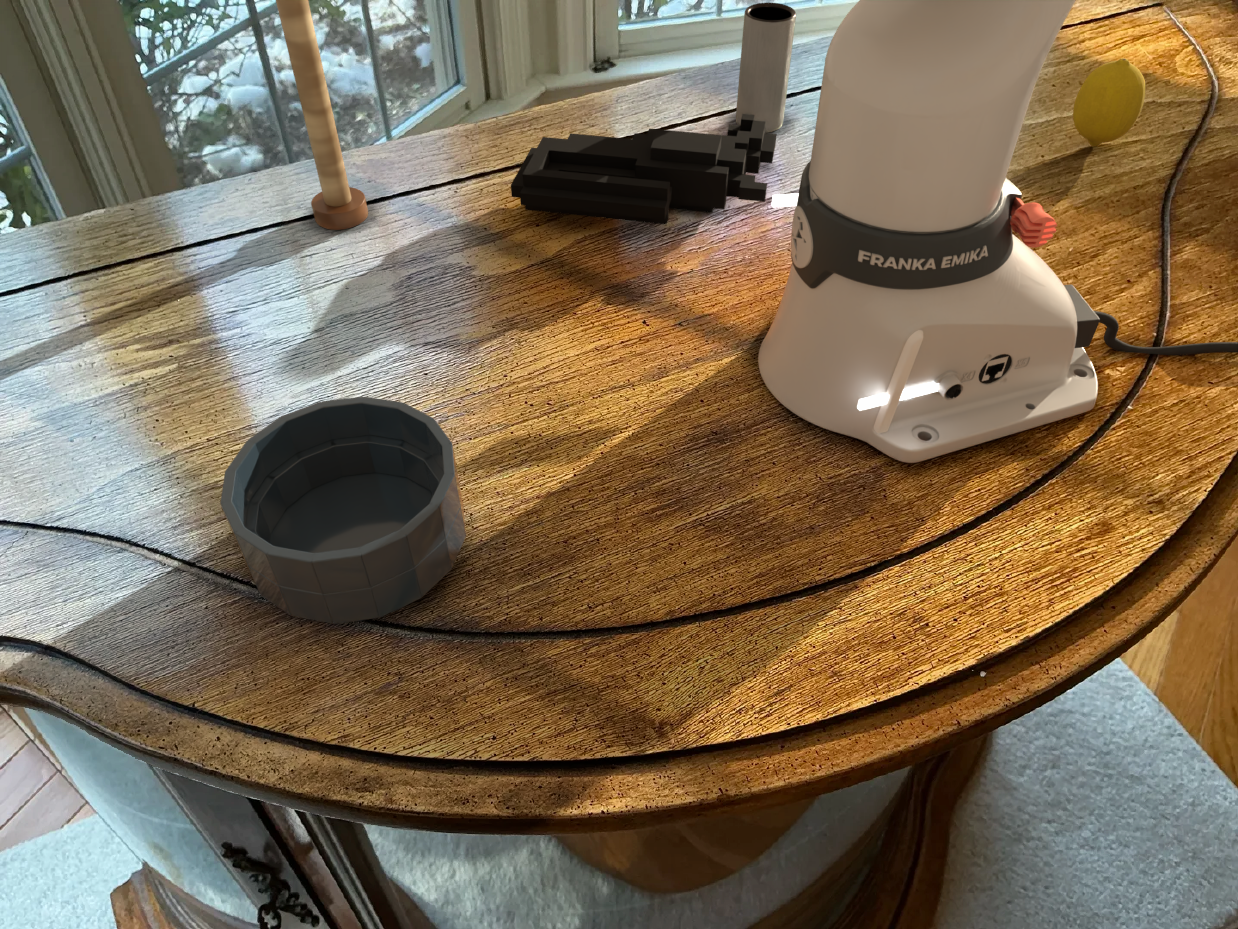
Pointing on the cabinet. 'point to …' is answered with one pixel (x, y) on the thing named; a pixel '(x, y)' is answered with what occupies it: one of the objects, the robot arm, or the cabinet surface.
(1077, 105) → the lemon
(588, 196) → the tool
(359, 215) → the stirring stick
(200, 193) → the cabinet surface
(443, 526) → the bowl
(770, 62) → the light grey tube
